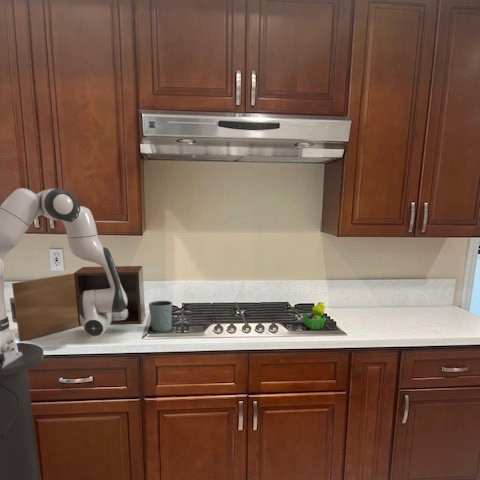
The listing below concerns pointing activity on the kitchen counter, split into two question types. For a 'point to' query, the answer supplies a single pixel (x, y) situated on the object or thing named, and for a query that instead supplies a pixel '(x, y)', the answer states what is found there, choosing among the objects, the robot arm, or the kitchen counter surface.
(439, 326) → the kitchen counter surface
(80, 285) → the cupboard
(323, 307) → the fruit basket
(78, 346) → the kitchen counter surface
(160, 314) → the grey mug
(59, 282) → the cupboard door
